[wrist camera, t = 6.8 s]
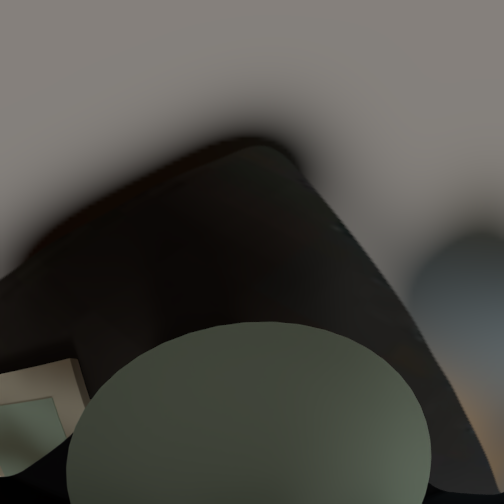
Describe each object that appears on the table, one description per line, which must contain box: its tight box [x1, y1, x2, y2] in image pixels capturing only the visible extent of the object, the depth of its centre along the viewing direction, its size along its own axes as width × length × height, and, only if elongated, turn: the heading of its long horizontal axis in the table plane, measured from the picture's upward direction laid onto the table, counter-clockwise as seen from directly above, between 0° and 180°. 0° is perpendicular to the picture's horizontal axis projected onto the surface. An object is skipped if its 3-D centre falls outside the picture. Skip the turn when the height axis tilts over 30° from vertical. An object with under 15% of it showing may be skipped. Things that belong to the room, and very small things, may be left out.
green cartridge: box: [66, 322, 431, 504], centre depth 8 cm, size 6×6×13 cm
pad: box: [0, 358, 90, 477], centre depth 11 cm, size 11×11×1 cm
